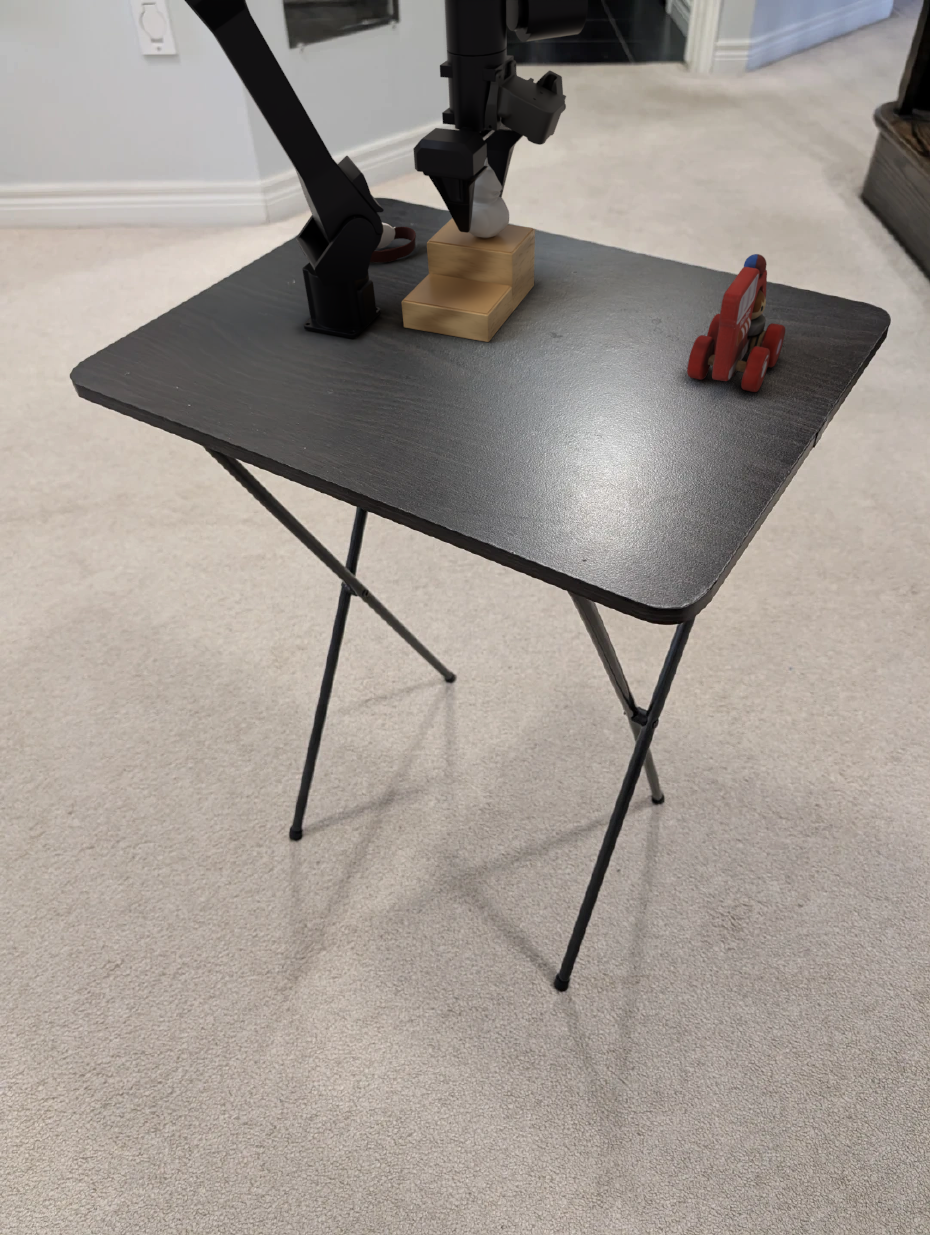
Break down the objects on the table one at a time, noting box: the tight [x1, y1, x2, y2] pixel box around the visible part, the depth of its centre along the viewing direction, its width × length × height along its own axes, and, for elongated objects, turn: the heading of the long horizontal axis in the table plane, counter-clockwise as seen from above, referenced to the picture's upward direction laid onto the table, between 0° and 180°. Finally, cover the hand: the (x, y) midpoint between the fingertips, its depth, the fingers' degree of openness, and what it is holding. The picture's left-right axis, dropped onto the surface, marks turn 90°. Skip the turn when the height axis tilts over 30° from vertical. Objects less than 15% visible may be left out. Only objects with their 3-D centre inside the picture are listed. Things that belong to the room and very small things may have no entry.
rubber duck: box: [468, 158, 510, 238], centre depth 94 cm, size 5×7×8 cm
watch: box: [370, 221, 417, 263], centre depth 109 cm, size 8×5×4 cm, turn 115°
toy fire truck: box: [686, 253, 786, 393], centre depth 84 cm, size 7×12×10 cm, turn 151°
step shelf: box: [401, 217, 536, 343], centre depth 97 cm, size 10×14×7 cm
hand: (480, 215), depth 96 cm, fingers open, 8 cm apart
